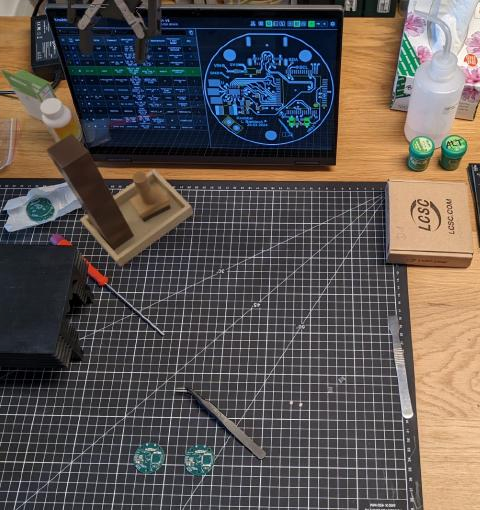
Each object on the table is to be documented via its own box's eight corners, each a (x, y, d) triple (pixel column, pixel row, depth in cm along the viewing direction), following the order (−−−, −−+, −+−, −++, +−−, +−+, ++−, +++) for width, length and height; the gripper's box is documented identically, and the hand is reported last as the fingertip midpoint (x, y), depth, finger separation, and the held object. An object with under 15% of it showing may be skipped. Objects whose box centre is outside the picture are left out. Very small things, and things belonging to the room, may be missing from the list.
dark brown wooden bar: (113, 250, 113) (62, 168, 90) (99, 234, 115) (45, 149, 91) (134, 236, 115) (88, 151, 92) (120, 220, 116) (71, 133, 93)
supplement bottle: (87, 130, 127) (70, 98, 118) (74, 151, 124) (57, 119, 116) (63, 124, 127) (45, 91, 119) (50, 144, 125) (30, 112, 116)
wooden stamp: (143, 223, 116) (128, 193, 107) (134, 208, 117) (118, 177, 108) (172, 208, 118) (160, 177, 108) (162, 193, 119) (149, 161, 110)
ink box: (67, 114, 128) (42, 67, 116) (54, 128, 127) (27, 81, 115) (40, 101, 130) (12, 54, 118) (27, 115, 128) (-2, 68, 116)
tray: (121, 269, 113) (116, 260, 110) (85, 228, 116) (79, 219, 113) (194, 216, 118) (191, 206, 115) (158, 178, 122) (154, 168, 119)
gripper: (58, -64, 90) (57, 52, 95) (153, -50, 89) (147, 66, 94) (83, -55, 97) (81, 53, 102) (171, -42, 97) (165, 66, 102)
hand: (113, 59), depth 98 cm, fingers open, 8 cm apart
